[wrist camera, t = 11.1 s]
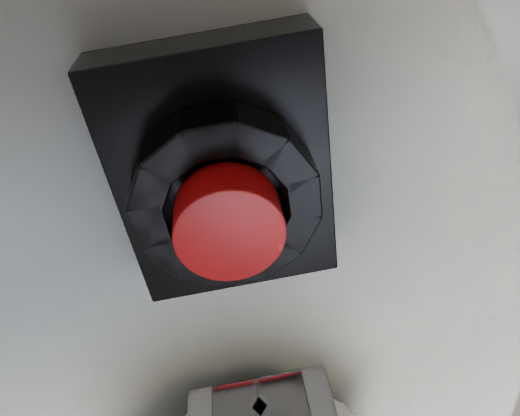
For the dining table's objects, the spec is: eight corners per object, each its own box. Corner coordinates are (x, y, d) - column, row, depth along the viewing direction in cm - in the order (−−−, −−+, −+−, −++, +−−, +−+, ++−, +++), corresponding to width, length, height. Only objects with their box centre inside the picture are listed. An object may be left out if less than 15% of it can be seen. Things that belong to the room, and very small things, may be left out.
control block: (80, 52, 16) (52, 93, 13) (308, 12, 17) (337, 43, 13) (156, 268, 22) (149, 335, 19) (325, 236, 22) (348, 297, 19)
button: (161, 172, 15) (158, 202, 14) (272, 152, 15) (280, 179, 14) (186, 257, 17) (186, 290, 16) (284, 238, 17) (292, 271, 16)
